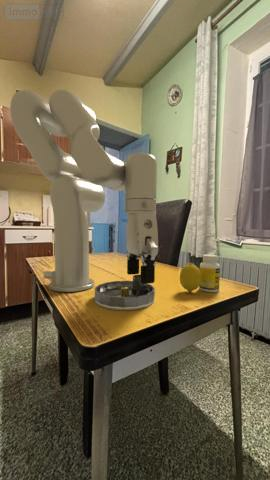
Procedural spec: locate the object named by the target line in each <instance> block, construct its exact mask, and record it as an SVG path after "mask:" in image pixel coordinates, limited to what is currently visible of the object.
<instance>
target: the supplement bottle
mask: <svg viewBox="0 0 270 480" xmlns="http://www.w3.org/2000/svg"><path fill="white" fill-rule="evenodd" d="M218 260H219V256H218V255H215V254H203V255H202V262H200V264H199V270H200V274H201V282H200V285H199V287H198V289H199V290H200V291H201V292H202V291H203V292H206V293H217V292H219V291H220V284H221V283H220V282H221V281H220V280H221V277H220V276H221V266H220V264H219V263H218Z"/></svg>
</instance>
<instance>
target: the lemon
mask: <svg viewBox="0 0 270 480" xmlns="http://www.w3.org/2000/svg"><path fill="white" fill-rule="evenodd" d="M200 282H201V274H200V268H198V266H196V265H195V264H193V263H192V262H189V263H188V264H186V265H184V266H183V267H182V268H181V270H180V273H179V283H180V285H181V287H182V288H183V289H184V290H186V291H187V292H188V293H192V292H193V291H196V290H197V289H199V285H200Z"/></svg>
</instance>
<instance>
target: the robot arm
mask: <svg viewBox="0 0 270 480" xmlns="http://www.w3.org/2000/svg"><path fill="white" fill-rule="evenodd" d="M9 109H10V110H9V111H10V112H9V114H10V119H11V120H10V121H11V123H12V126H13V129H14V131H15V132H16V135H17V136H18V137H19V139H20V141H22V144H24V146H25V148H26V149H27V150H28V152H29V154H30V156H31V158H32V159H33V161H34V163H35V164H36V166H37V168H38V169H39V171H40V172H41V174H42V175H43V177H44V178H45V179H46V180H48V181H49V182H51V184H50V188H49V199H50V202H51V208H52V214H53V227H54V229H53V230H54V231H53V232H54V270H53V271H51V270H45V271H44V274H43V279H50V280H51V282H50V283H49V284H48V285H49V287H48V288H49V289H50V290H52V291H54V292H60V293H61V292H62V293H71V292H72V293H74V292H81V291H86V290H89V289H91V288H93V287H94V286H95V280H94V279H92V278H90V232H89V231H90V229H89V228H90V226H89V220H88V217H87V214H86V213H95V212H98V211H100V210H101V209H102V208H103V206H104V205H105V200H106V196H105V192H104V191H105V190H104V188H107V189H109V190H113V191H117V192H122V191H123V192H124V215H127V220H126V252H127V255H126V257H127V258H126V268H127V269H126V270H127V271H126V273H127V275H141V283H142V284H154V283H155V281H156V278H155V274H156V273H155V271H156V270H155V267H156V260H157V259H158V257H157V255H158V253H159V236H158V235H159V234H158V233H159V231H158V221H157V180H158V178H157V177H158V176H157V174H158V173H157V172H158V171H157V170H158V168H157V167H158V164H157V163H158V162H157V158H156V157H155V156H154V155H153V154H150V153H147V152H136V153H131V154H129V155H128V156H127V157H126V158H125V161H124V160H121V159H119V158H117V157H115V156H113V155H112V154H110V153H107V151H105V149H104V148H103V147H102V146H101V144H100V143H99V141H98V140H99V139H100V134H101V131H100V126H99V125H98V123H97V118H96V117H97V116H96V113H95V112H94V110H93V108H92V107H91V106H90V105H88V104H87V103H85V102H84V101H83V100H82V99H80V98H79V97H78V96H76V95H75V94H74V93H73V92H71V91H68V90H66V89H57V90H55V91H53V92H52V93H51V95H50V96H49V100H48V99H47V98H44V97H42V96H41V95H40V94H38V93H35V92H32V91H30V90H26V89H24V90H22V89H21V90H18V91H16V92H15V93H13V95H12V97H11V100H10V108H9ZM53 136H56V137H60V138H61V137H67V139H68V140H69V141H70V145H69V146H70V153H68V152H66V151H64V150H63V149H62V148H61V146H59V144H58V143H57V142H56V139H55V138H54V137H53ZM139 257H140V258H139ZM140 261H141V265H140Z"/></svg>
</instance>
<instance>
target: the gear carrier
mask: <svg viewBox="0 0 270 480" xmlns="http://www.w3.org/2000/svg"><path fill="white" fill-rule="evenodd" d="M131 288H133V280H115V281H105V282H103V283H100V284H98V285H97V286H95V287H94V302H95V305H97V306H98V307H100V308H102V309H105V310H109V311H110V310H111V311H119V312H122V311H123V312H126V311H127V312H128V311H137V310H143V309H146V308H149V307H150V306H152V305H153V304H154V303H155V296H156V287H154V286H153V285H152V284H151V283H147V288H148V294H145V295H140V296H137V295H134V294H132V293H131Z"/></svg>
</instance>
